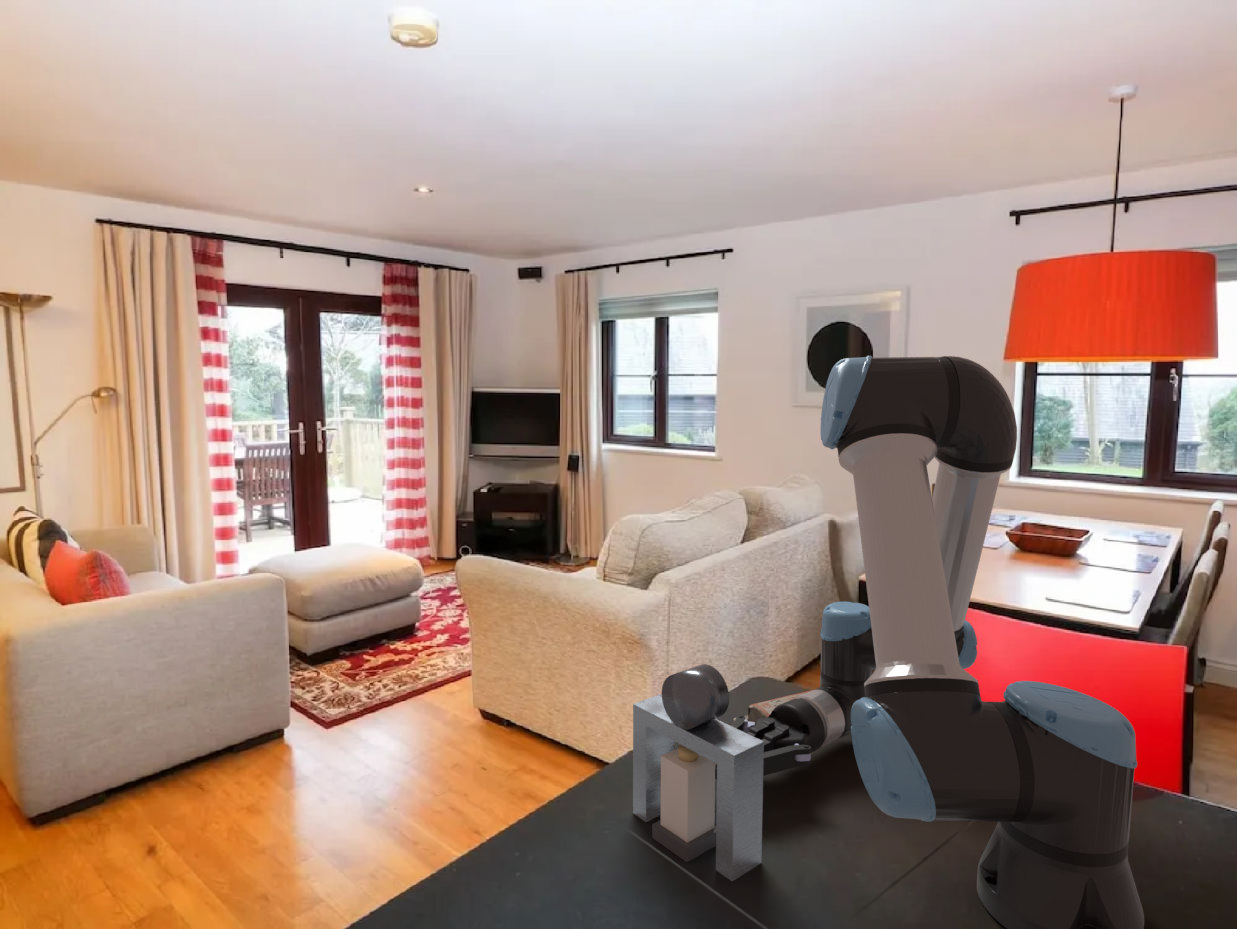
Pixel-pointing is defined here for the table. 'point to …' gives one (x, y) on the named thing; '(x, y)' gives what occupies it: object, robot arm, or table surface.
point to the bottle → (686, 804)
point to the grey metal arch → (737, 754)
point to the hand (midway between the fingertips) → (689, 778)
